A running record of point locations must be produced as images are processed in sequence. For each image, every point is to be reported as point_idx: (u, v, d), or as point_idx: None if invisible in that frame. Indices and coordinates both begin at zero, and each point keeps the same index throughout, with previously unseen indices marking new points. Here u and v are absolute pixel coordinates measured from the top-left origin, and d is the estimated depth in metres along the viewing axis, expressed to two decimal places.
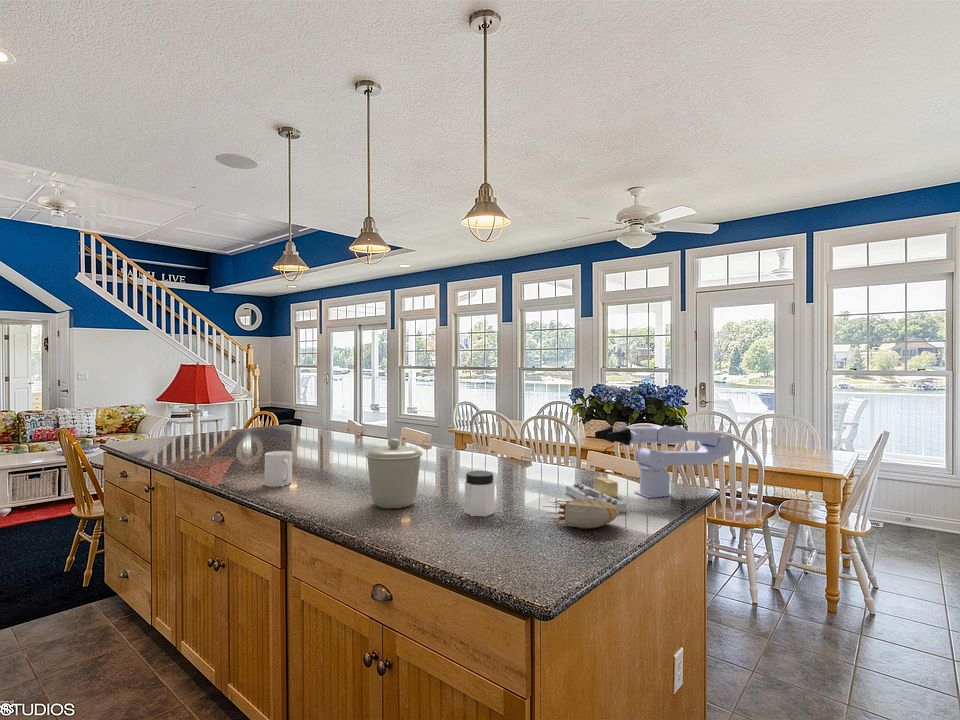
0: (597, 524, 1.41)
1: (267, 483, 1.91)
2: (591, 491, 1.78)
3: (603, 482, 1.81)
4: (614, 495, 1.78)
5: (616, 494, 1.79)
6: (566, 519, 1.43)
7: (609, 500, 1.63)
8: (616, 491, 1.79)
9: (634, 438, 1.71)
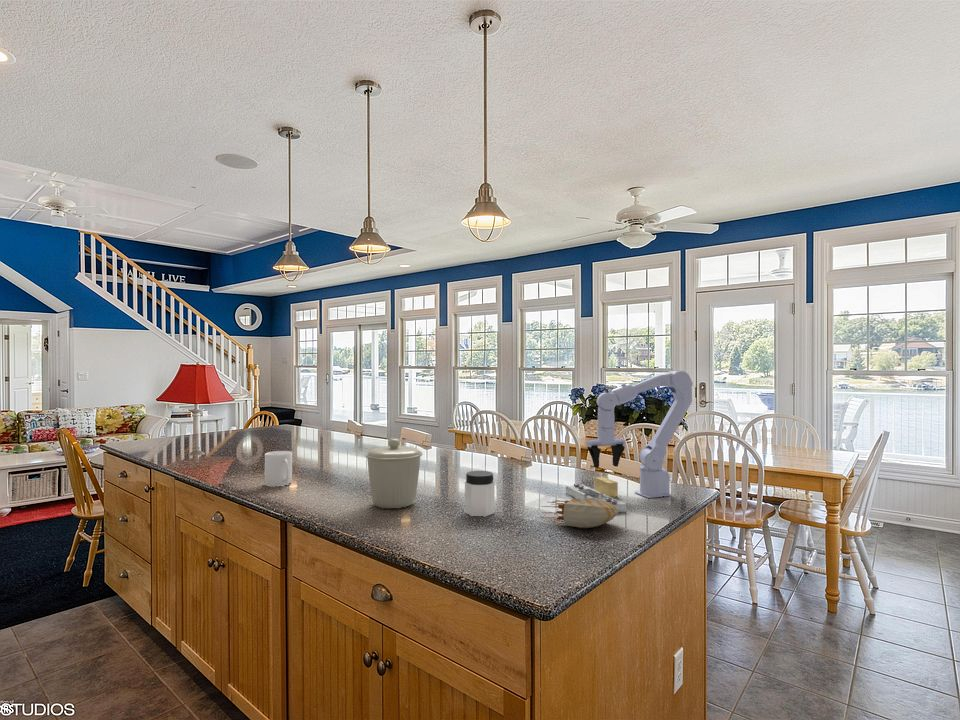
0: (596, 523, 1.41)
1: (267, 483, 1.91)
2: (591, 491, 1.78)
3: (603, 482, 1.81)
4: (614, 495, 1.78)
5: (616, 494, 1.79)
6: (565, 519, 1.44)
7: (609, 500, 1.63)
8: (616, 491, 1.79)
9: (588, 445, 1.80)
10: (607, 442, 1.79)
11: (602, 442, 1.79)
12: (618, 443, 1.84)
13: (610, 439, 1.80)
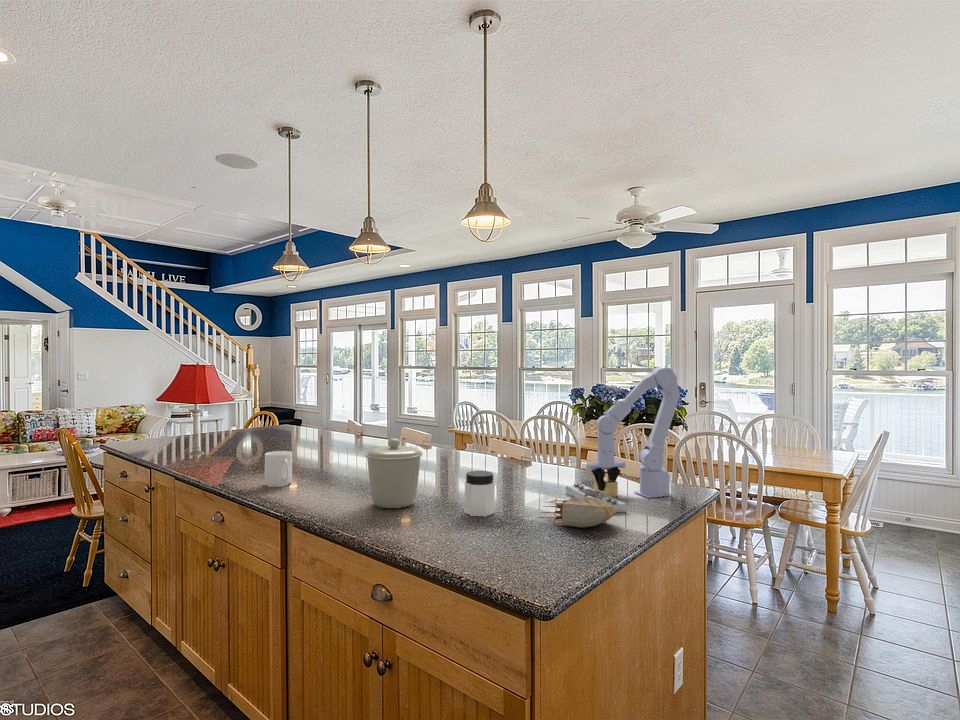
0: (594, 523, 1.42)
1: (267, 483, 1.91)
2: (591, 491, 1.78)
3: None
4: (614, 495, 1.78)
5: (616, 494, 1.79)
6: (563, 518, 1.44)
7: (609, 500, 1.63)
8: (616, 491, 1.79)
9: (588, 468, 1.80)
10: (607, 465, 1.79)
11: (602, 465, 1.79)
12: (618, 466, 1.84)
13: (610, 462, 1.80)
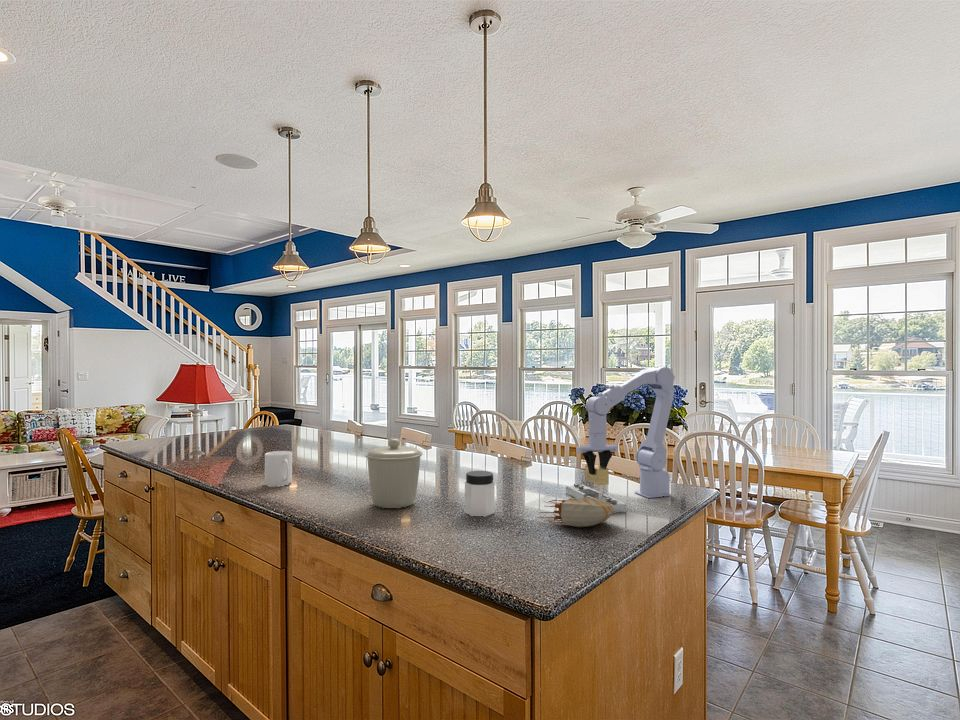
0: (593, 522, 1.42)
1: (267, 483, 1.91)
2: (591, 491, 1.78)
3: None
4: (605, 482, 1.71)
5: (607, 481, 1.71)
6: (563, 518, 1.44)
7: (609, 500, 1.63)
8: (607, 478, 1.71)
9: (578, 451, 1.72)
10: (598, 448, 1.72)
11: (593, 448, 1.72)
12: (610, 449, 1.76)
13: (601, 445, 1.72)
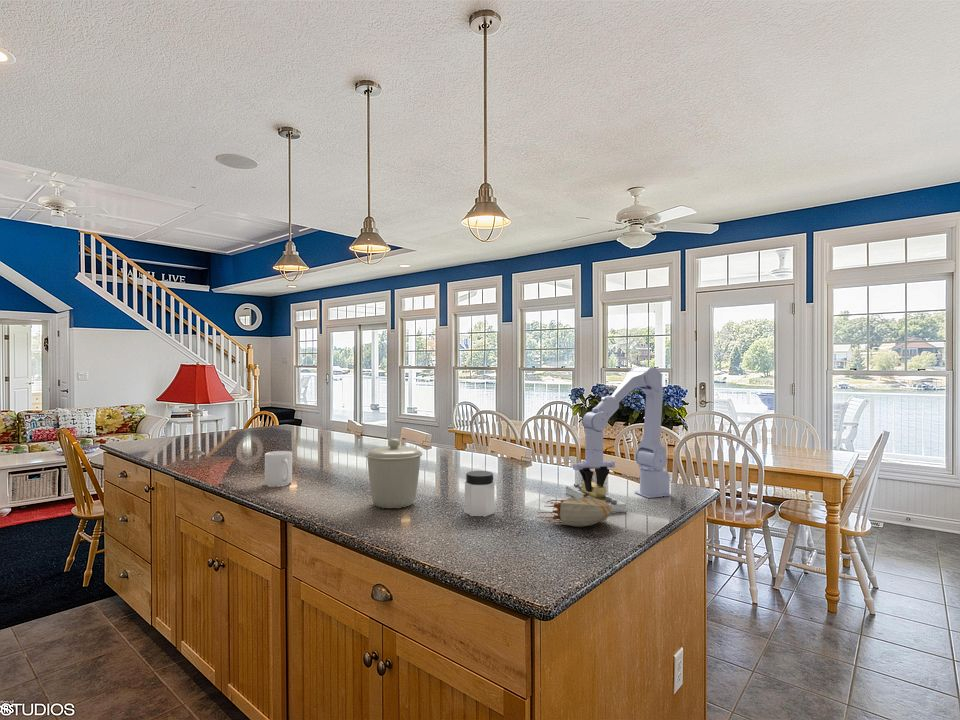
0: (592, 522, 1.43)
1: (267, 483, 1.91)
2: None
3: None
4: None
5: None
6: (561, 518, 1.44)
7: (609, 500, 1.63)
8: (604, 496, 1.68)
9: (575, 468, 1.69)
10: (595, 465, 1.69)
11: (590, 465, 1.69)
12: (607, 465, 1.73)
13: (598, 462, 1.69)
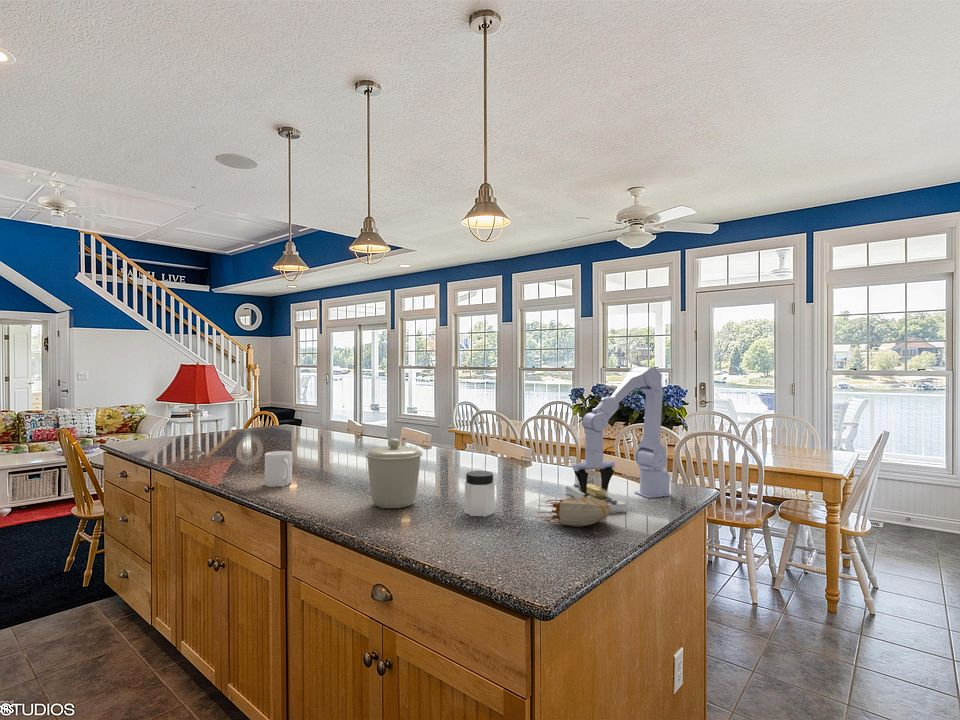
0: (592, 521, 1.43)
1: (267, 483, 1.91)
2: None
3: (590, 489, 1.70)
4: None
5: None
6: (561, 518, 1.45)
7: (609, 500, 1.63)
8: (604, 499, 1.68)
9: (575, 469, 1.69)
10: (595, 466, 1.69)
11: (590, 466, 1.69)
12: (607, 466, 1.73)
13: (598, 463, 1.69)
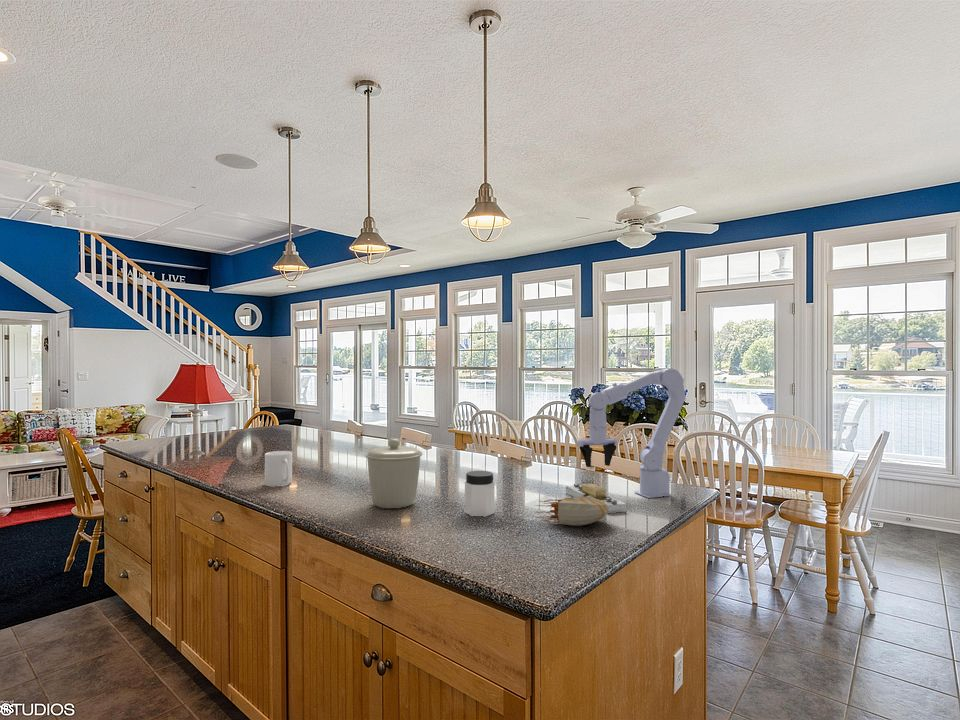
0: (590, 521, 1.43)
1: (267, 483, 1.91)
2: None
3: (590, 489, 1.70)
4: None
5: None
6: (559, 517, 1.45)
7: (609, 500, 1.63)
8: (604, 499, 1.68)
9: (580, 444, 1.81)
10: (599, 441, 1.81)
11: (594, 441, 1.81)
12: (610, 442, 1.85)
13: (602, 438, 1.81)
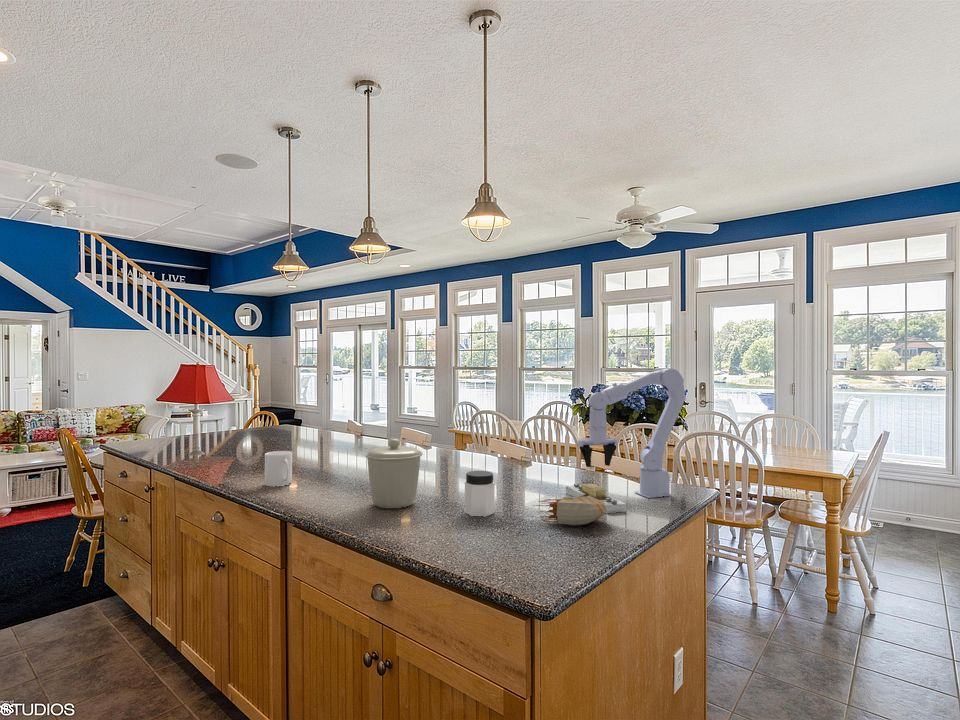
0: (589, 520, 1.44)
1: (267, 483, 1.91)
2: None
3: (590, 489, 1.70)
4: None
5: None
6: (558, 517, 1.45)
7: (609, 500, 1.63)
8: (604, 499, 1.68)
9: (580, 444, 1.81)
10: (599, 441, 1.81)
11: (594, 441, 1.81)
12: (610, 442, 1.85)
13: (602, 438, 1.81)
